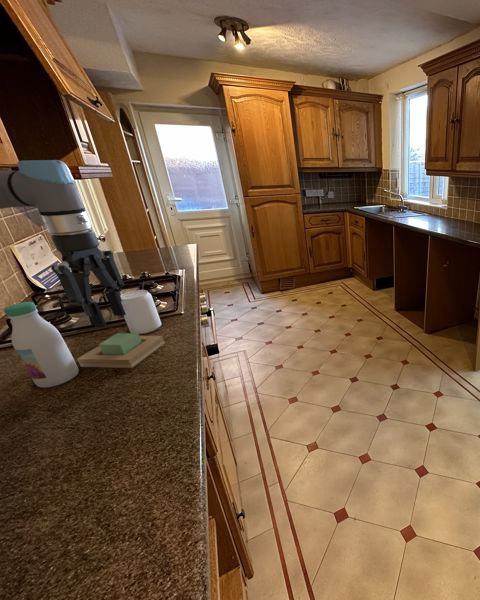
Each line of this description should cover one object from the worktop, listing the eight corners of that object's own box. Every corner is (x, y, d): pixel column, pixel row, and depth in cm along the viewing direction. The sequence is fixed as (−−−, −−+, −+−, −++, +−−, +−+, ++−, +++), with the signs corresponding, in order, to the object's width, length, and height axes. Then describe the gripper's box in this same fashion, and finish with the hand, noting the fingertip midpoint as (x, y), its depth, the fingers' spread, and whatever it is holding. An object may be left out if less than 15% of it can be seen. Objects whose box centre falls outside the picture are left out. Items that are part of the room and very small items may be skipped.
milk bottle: (79, 365, 84) (43, 295, 76) (80, 378, 79) (42, 305, 71) (37, 378, 80) (-6, 305, 71) (36, 393, 74) (-11, 316, 66)
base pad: (80, 366, 84) (76, 358, 83) (119, 342, 95) (116, 335, 94) (132, 368, 83) (128, 360, 82) (165, 343, 94) (162, 335, 93)
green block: (104, 357, 86) (98, 344, 84) (123, 345, 91) (117, 333, 90) (125, 357, 86) (120, 345, 84) (143, 345, 91) (138, 333, 89)
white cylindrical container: (150, 335, 98) (136, 299, 93) (124, 335, 98) (109, 300, 93) (167, 323, 105) (156, 289, 101) (143, 323, 106) (130, 289, 101)
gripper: (46, 241, 66) (92, 338, 76) (120, 224, 83) (150, 305, 93) (12, 241, 67) (62, 337, 76) (93, 224, 83) (125, 305, 93)
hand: (110, 320), depth 84 cm, fingers open, 5 cm apart
